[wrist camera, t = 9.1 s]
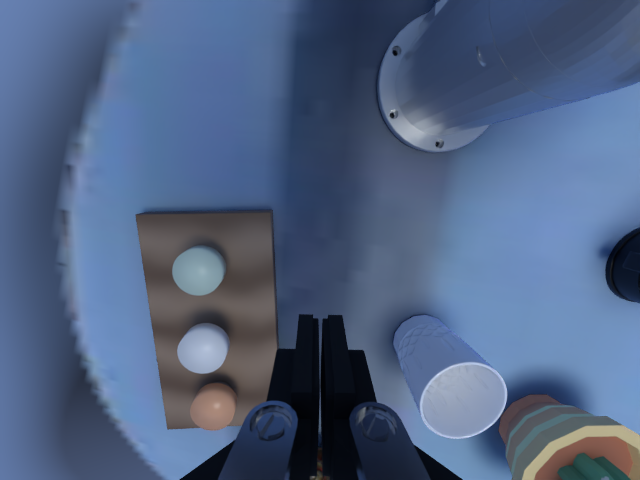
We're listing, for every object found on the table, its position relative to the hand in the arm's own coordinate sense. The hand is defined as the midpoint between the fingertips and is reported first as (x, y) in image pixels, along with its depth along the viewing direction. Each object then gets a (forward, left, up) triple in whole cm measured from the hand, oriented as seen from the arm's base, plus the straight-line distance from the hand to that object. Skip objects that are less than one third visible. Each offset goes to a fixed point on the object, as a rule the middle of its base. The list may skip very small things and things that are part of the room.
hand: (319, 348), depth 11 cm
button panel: (+10, -10, -21) cm, 25 cm away
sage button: (+2, -10, -19) cm, 22 cm away
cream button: (+10, -10, -18) cm, 23 cm away
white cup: (+13, +13, -21) cm, 28 cm away
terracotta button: (+17, -10, -19) cm, 27 cm away
